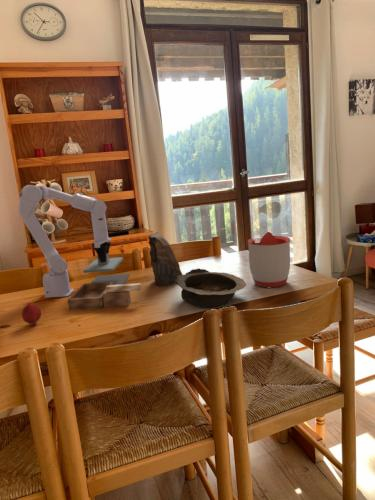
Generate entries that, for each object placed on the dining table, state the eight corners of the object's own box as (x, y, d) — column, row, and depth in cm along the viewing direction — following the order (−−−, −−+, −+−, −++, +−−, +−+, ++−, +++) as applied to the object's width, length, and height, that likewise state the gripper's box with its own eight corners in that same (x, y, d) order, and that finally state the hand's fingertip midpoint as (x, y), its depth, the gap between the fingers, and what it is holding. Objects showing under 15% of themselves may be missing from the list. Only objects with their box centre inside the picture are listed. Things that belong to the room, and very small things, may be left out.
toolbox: (69, 310, 138) (67, 297, 137) (85, 293, 155) (83, 281, 154) (128, 307, 136) (126, 293, 135) (137, 290, 154) (136, 278, 153)
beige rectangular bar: (106, 292, 138) (105, 286, 137) (108, 290, 140) (107, 285, 139) (140, 290, 137) (139, 284, 136) (141, 288, 139) (140, 283, 138)
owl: (161, 288, 154) (156, 238, 150) (142, 282, 163) (136, 235, 159) (184, 280, 162) (180, 232, 158) (165, 275, 171) (160, 230, 167)
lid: (83, 272, 156) (81, 260, 155) (96, 261, 173) (94, 250, 172) (113, 270, 155) (111, 258, 154) (123, 259, 172) (121, 248, 171)
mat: (83, 291, 158) (83, 290, 158) (97, 276, 178) (97, 275, 178) (120, 288, 157) (120, 288, 157) (130, 274, 177) (130, 273, 177)
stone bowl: (164, 296, 143) (163, 272, 142) (224, 288, 153) (224, 265, 151) (191, 318, 121) (191, 289, 119) (260, 307, 131) (261, 280, 129)
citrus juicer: (271, 273, 161) (269, 225, 157) (300, 284, 146) (299, 231, 141) (239, 281, 155) (236, 231, 150) (265, 293, 139) (263, 237, 135)
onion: (31, 329, 124) (27, 305, 122) (20, 326, 127) (15, 303, 125) (46, 322, 129) (42, 299, 127) (35, 319, 132) (31, 297, 130)
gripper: (104, 231, 153) (109, 264, 156) (114, 225, 167) (117, 256, 170) (87, 232, 154) (92, 266, 157) (97, 226, 168) (102, 257, 171)
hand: (104, 260), depth 164 cm, fingers closed on lid, 3 cm apart
